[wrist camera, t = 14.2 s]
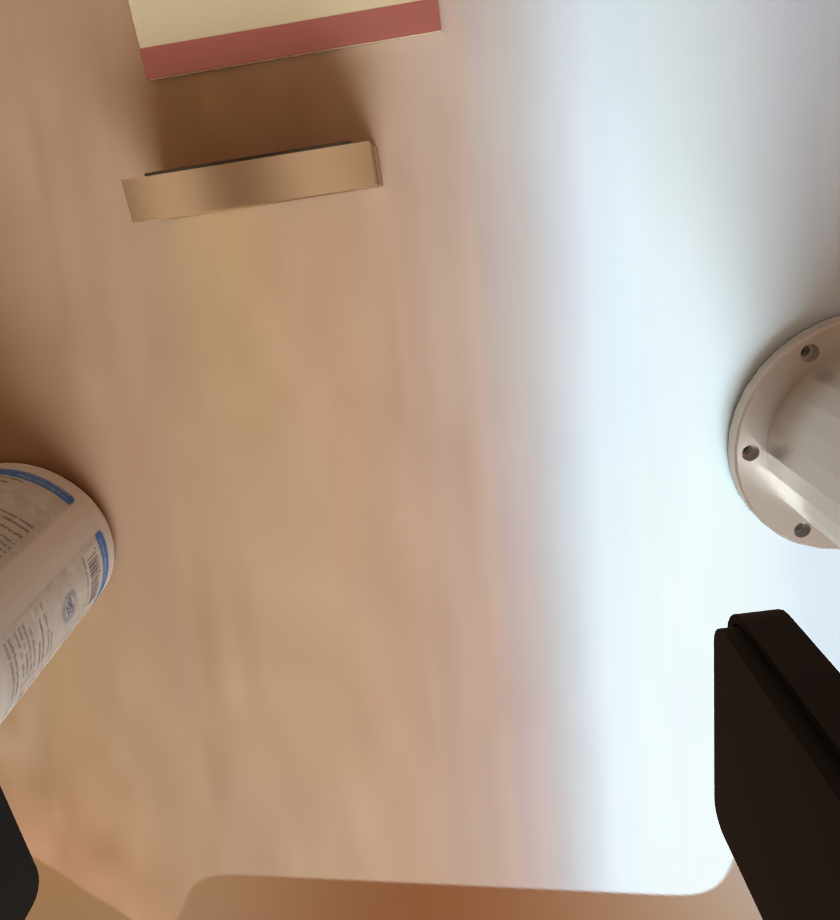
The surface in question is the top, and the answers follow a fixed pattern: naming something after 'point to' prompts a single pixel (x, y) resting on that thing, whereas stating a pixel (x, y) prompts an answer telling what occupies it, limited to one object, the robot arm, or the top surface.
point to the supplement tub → (44, 570)
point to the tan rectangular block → (253, 181)
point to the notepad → (266, 29)
